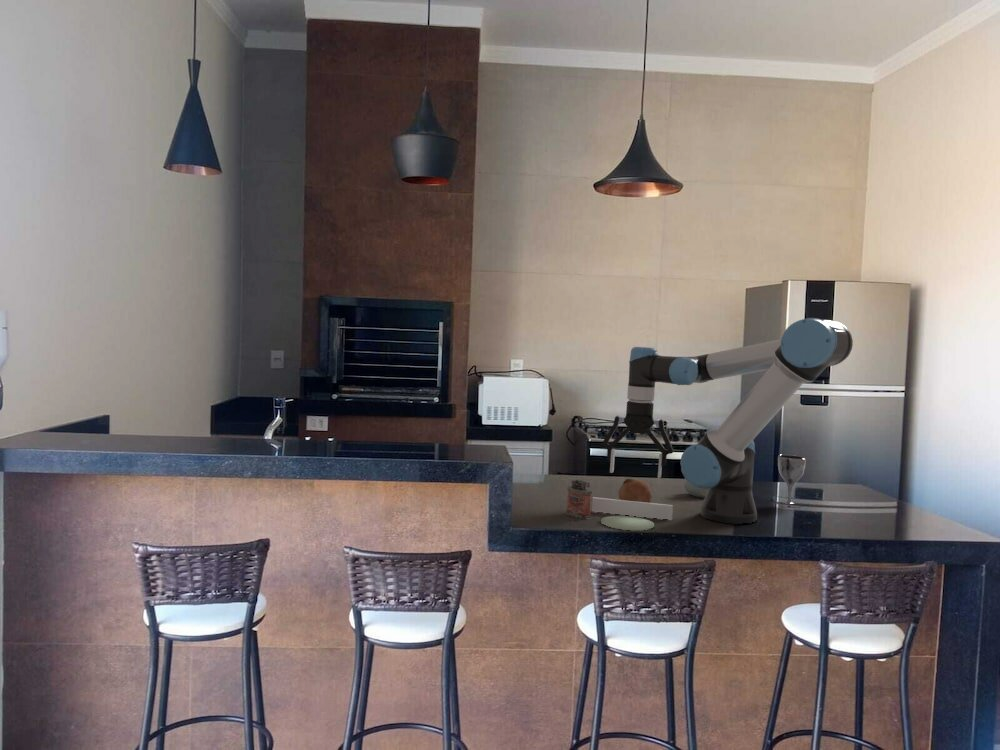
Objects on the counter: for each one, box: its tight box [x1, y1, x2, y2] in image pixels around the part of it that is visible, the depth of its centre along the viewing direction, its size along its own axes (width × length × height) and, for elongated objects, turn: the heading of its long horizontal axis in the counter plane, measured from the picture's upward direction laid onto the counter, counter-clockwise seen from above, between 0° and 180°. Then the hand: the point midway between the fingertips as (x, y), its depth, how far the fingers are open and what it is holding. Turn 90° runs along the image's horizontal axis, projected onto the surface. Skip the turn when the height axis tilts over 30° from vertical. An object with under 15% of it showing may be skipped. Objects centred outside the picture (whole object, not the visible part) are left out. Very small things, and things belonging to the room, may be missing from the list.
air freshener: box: [684, 480, 709, 499], centre depth 249 cm, size 11×8×10 cm
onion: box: [618, 477, 653, 503], centre depth 226 cm, size 10×9×10 cm
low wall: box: [591, 496, 674, 521], centre depth 219 cm, size 22×1×4 cm, turn 74°
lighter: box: [565, 478, 592, 519], centre depth 216 cm, size 8×3×10 cm, turn 40°
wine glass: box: [777, 453, 807, 504], centre depth 241 cm, size 8×8×15 cm
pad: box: [600, 515, 655, 532], centre depth 209 cm, size 14×14×1 cm
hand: (635, 474), depth 226 cm, fingers open, 13 cm apart
